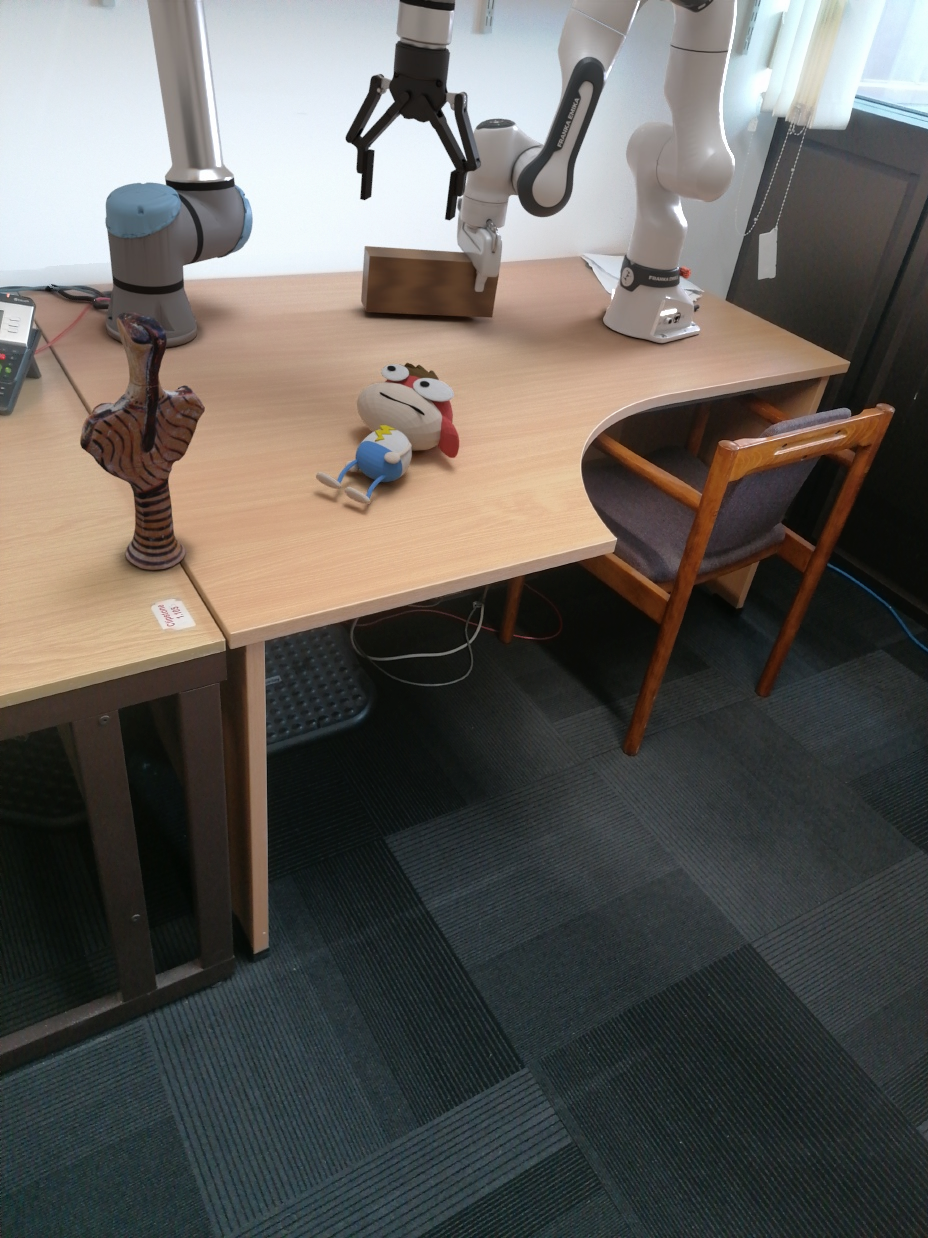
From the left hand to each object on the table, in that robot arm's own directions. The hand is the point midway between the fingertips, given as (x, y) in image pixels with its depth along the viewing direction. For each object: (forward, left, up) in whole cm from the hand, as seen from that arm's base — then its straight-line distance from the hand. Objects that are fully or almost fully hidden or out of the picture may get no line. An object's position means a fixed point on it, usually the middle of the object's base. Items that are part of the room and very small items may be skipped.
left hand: (407, 208), depth 134 cm
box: (-6, +38, -29) cm, 48 cm away
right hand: (+1, +43, -23) cm, 49 cm away
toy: (+8, -22, -30) cm, 38 cm away
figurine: (-8, -59, -30) cm, 67 cm away
